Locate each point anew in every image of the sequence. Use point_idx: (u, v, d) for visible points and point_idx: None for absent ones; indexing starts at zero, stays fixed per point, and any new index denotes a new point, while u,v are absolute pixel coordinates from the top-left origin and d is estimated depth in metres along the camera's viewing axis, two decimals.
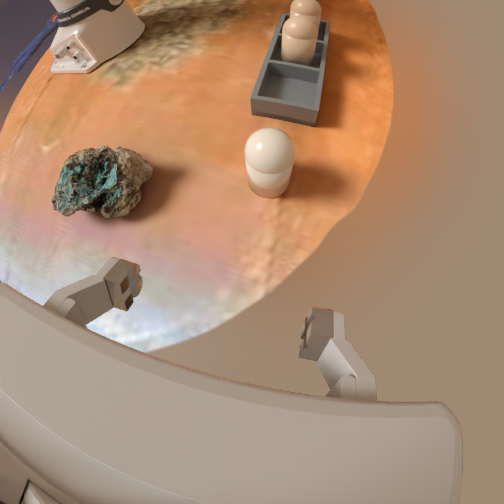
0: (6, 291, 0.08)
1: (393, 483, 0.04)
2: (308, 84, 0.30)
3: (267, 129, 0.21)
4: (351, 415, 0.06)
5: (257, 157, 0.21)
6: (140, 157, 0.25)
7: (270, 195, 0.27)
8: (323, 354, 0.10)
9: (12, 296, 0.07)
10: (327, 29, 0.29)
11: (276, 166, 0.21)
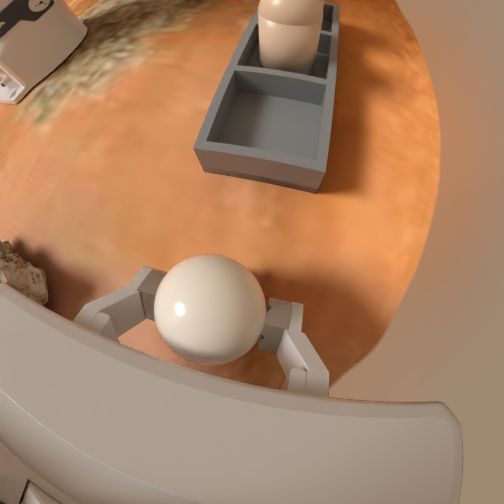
0: (6, 291, 0.08)
1: (393, 483, 0.04)
2: (306, 107, 0.18)
3: (193, 279, 0.09)
4: (351, 415, 0.06)
5: (173, 347, 0.09)
6: (23, 277, 0.13)
7: None
8: (280, 346, 0.10)
9: (12, 296, 0.07)
10: (336, 15, 0.17)
11: (218, 362, 0.09)
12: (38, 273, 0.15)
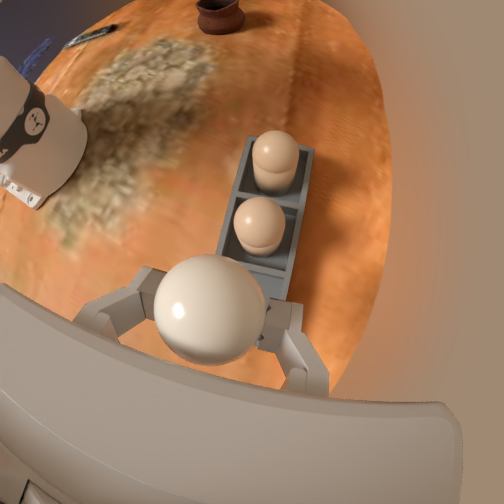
0: (6, 291, 0.08)
1: (393, 483, 0.04)
2: (271, 282, 0.28)
3: (192, 279, 0.09)
4: (351, 415, 0.06)
5: (173, 347, 0.09)
6: None
7: None
8: (280, 346, 0.10)
9: (12, 296, 0.07)
10: (308, 171, 0.28)
11: (218, 363, 0.09)
12: None
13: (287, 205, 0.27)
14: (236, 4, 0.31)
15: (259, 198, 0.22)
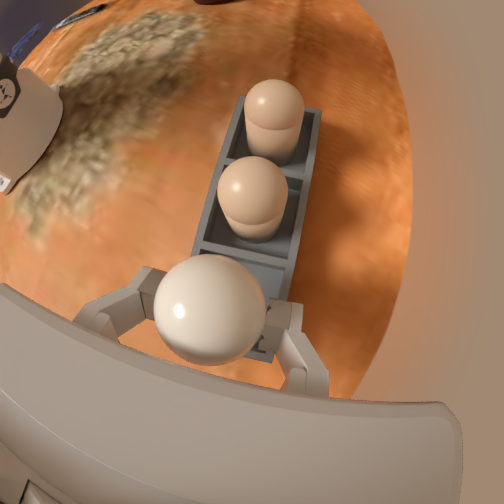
0: (6, 291, 0.08)
1: (393, 483, 0.04)
2: (268, 274, 0.22)
3: (193, 279, 0.09)
4: (351, 415, 0.06)
5: (173, 347, 0.09)
6: None
7: None
8: (280, 346, 0.10)
9: (12, 296, 0.07)
10: (315, 135, 0.21)
11: (218, 363, 0.09)
12: None
13: (289, 175, 0.21)
14: None
15: (252, 157, 0.16)
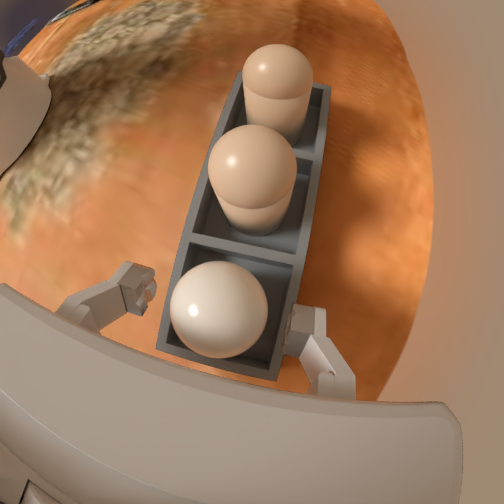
0: (6, 291, 0.08)
1: (393, 483, 0.04)
2: (272, 273, 0.18)
3: (207, 284, 0.10)
4: (351, 415, 0.06)
5: (188, 342, 0.10)
6: None
7: None
8: (304, 351, 0.10)
9: (12, 296, 0.07)
10: (324, 112, 0.18)
11: (227, 355, 0.11)
12: None
13: (296, 155, 0.17)
14: None
15: (251, 124, 0.12)
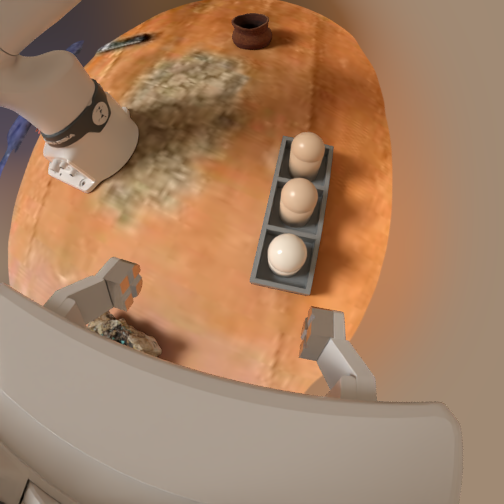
0: (6, 291, 0.08)
1: (393, 484, 0.04)
2: None
3: (286, 239, 0.29)
4: (351, 415, 0.06)
5: (278, 263, 0.29)
6: (150, 346, 0.32)
7: (286, 277, 0.35)
8: (323, 354, 0.10)
9: (12, 296, 0.07)
10: (329, 163, 0.36)
11: (292, 269, 0.29)
12: (154, 340, 0.34)
13: (315, 187, 0.36)
14: (266, 24, 0.40)
15: (300, 178, 0.30)
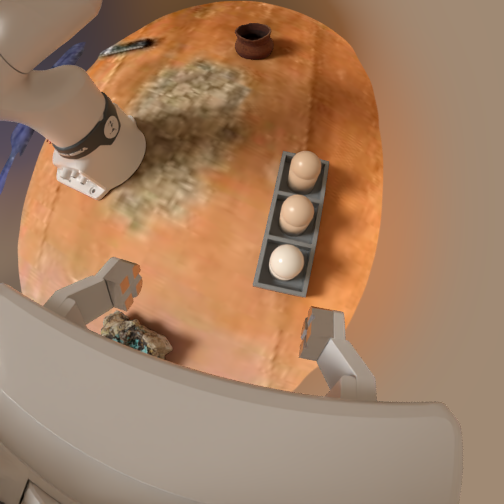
0: (6, 291, 0.08)
1: (393, 483, 0.04)
2: None
3: (286, 250, 0.33)
4: (351, 415, 0.06)
5: (279, 270, 0.33)
6: (163, 344, 0.36)
7: None
8: (323, 354, 0.10)
9: (12, 296, 0.07)
10: (325, 177, 0.40)
11: (291, 275, 0.34)
12: (165, 339, 0.38)
13: (312, 200, 0.40)
14: (269, 36, 0.43)
15: (298, 195, 0.35)
